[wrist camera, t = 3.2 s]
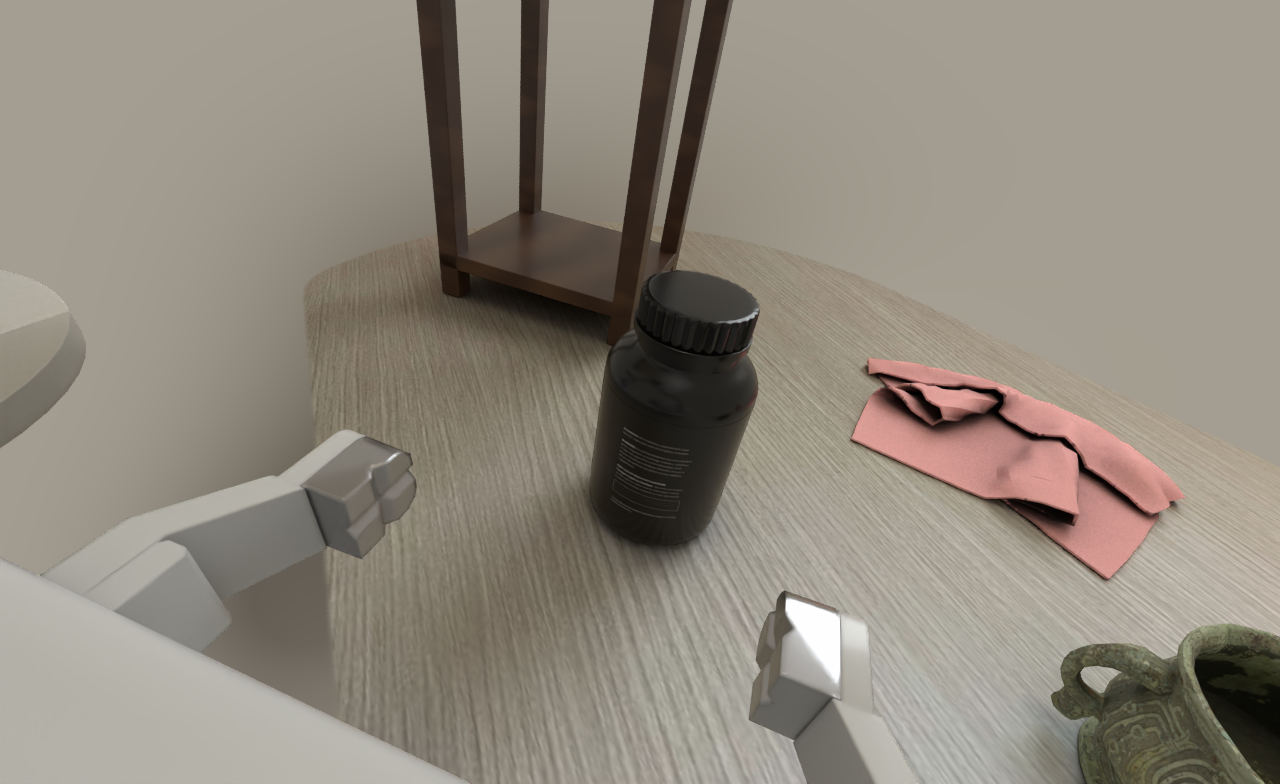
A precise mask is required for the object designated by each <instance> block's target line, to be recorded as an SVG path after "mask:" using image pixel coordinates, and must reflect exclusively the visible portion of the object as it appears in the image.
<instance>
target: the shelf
mask: <svg viewBox="0 0 1280 784" xmlns="http://www.w3.org/2000/svg"><path fill="white" fill-rule="evenodd" d="M691 1H692V0H654V6H653V14H652V21H651V28H650V35H649V42H648V49H647V57H646V64H645V72H644V79H643V86H642V93H641V100H640V108H639V115H638V122H637V129H636V137H635V144H634V151H633V159H632V166H631V173H630V180H629V188H628V195H627V202H626V209H625V217H624V224H623V231H622V232H618V231H615V230H611V229H607V228H604V227H600V226H596V225H593V224H589V223H585V222H582V221H578V220H574V219H570V218H567V217H563V216H559V215H556V214H552V213H548V212H545V211H541V198H542V172H543V144H544V117H545V90H546V62H547V36H548V8H549V0H521V81H520V83H521V86H520V176H519V179H520V180H519V181H520V183H519V211H517V212H515V213H513V214H511V215H509V216H507V217H505V218H503V219H501V220H499V221H497V222H495V223H493V224H491V225H489V226H487V227H485V228H483V229H481V230H479V231H477V232H475V233H473V234H471V235H469V236H468V234H467V215H466V197H465V177H464V158H463V139H462V120H461V101H460V82H459V63H458V44H457V25H456V7H455V0H417V11H418V23H419V34H420V45H421V56H422V67H423V78H424V90H425V100H426V112H427V123H428V134H429V145H430V157H431V167H432V179H433V190H434V201H435V212H436V223H437V235H438V246H439V258H440V268H441V279H442V290H443V293H446V294H449V295H453V296H456V297H461V296H463V295H464V294H466V293H467V292H469V291H470V274H472V275H476V276H479V277H482V278H486V279H489V280H492V281H495V282H499V283H502V284H505V285H509V286H512V287H515V288H519V289H522V290H525V291H528V292H532V293H535V294H538V295H542V296H545V297H548V298H551V299H555V300H558V301H561V302H565V303H568V304H571V305H575V306H578V307H581V308H584V309H588V310H591V311H594V312H598V313H601V314H604V315H608V316H611V318H610V326H609V333H608V340H607V344H609V345H612V346H613V345H614V344H615V342H616V341H617V340H618V339H619V338H620V337H621V336H622V335H624V334H625V333H626V332H628V331H630V330H631V329H633V328H634V316H635V312H636V310H637V309H638V305H639V300H640V294H641V289H642V286H643V283H644V281H645V280H647V278H648V277H650V276H652V275H653V274H657V273H659V272H666V271H676V266H677V261H678V257H679V252H680V247H681V243H682V238H683V233H684V229H685V223H686V219H687V214H688V210H689V205H690V200H691V195H692V191H693V186H694V181H695V177H696V172H697V167H698V163H699V158H700V153H701V149H702V144H703V139H704V134H705V130H706V125H707V120H708V115H709V110H710V106H711V101H712V97H713V92H714V88H715V83H716V78H717V73H718V69H719V64H720V59H721V55H722V50H723V45H724V41H725V36H726V31H727V26H728V22H729V17H730V12H731V8H732V3H733V0H706V6H705V11H704V17H703V22H702V28H701V32H700V38H699V43H698V48H697V54H696V59H695V64H694V70H693V76H692V80H691V86H690V91H689V96H688V102H687V107H686V112H685V118H684V123H683V129H682V134H681V139H680V145H679V150H678V155H677V160H676V166H675V171H674V176H673V182H672V187H671V192H670V198H669V203H668V208H667V214H666V219H665V224H664V230H663V235H662V240H661V243H659V242H655V241H651V240H650V238H651V232H652V226H653V220H654V214H655V208H656V203H657V197H658V191H659V185H660V180H661V174H662V167H663V162H664V157H665V151H666V145H667V139H668V133H669V128H670V122H671V116H672V111H673V105H674V99H675V93H676V87H677V81H678V76H679V70H680V64H681V59H682V53H683V47H684V41H685V35H686V30H687V24H688V18H689V12H690V6H691Z"/></svg>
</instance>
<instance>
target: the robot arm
mask: <svg viewBox="0 0 1280 784" xmlns="http://www.w3.org/2000/svg"><path fill="white" fill-rule="evenodd" d="M412 465H413V463H412V458H411V454H410V453H408V452H405V451H403V450H400V449H397V448H395V447H392V446H390V445H387V444H385V443H382V442H380V441H377V440H374V439H372V438H369V437H367V436H365V435H362V434H359V433H356V432H354V431H351V430H348V429H345V430H342V431H338V432H336V433H335V434H334V435H332V436H331V437H330V438H328V439H327V440H326V441H324V442H323V443H322V444H320V445H319V446H318V447H316V448H315V449H314V450H313V451H311V452H310V453H309V454H307V455H306V456H305V457H303V458H302V459H301V460H299V461H298V462H297V463H295V464H294V465H293V466H292V467H290V468H289V469H287V470H286V471H285V472H283V473H282V474H281V475H279V476H278V477H276V476H273V475H270V476H267V477H264V478H260V479H256V480H253V481H250V482H246V483H243V484H240V485H236V486H233V487H230V488H226V489H223V490H220V491H216V492H213V493H210V494H207V495H203V496H200V497H197V498H193V499H190V500H187V501H183V502H180V503H176V504H173V505H170V506H167V507H163V508H160V509H156V510H154V511H150V512H146V513H143V514H140V515H137V516H133V517H130V518H127V519H125V520H123V521H122V522H121V523H119V524H117V525H116V526H114V527H113V528H111V529H110V530H108V531H107V532H105V533H104V534H102V535H101V536H99V537H98V538H96V539H94V540H93V541H92V542H90V543H89V544H87V545H85V546H84V547H82V548H81V549H79V550H78V551H76V552H75V553H73V554H72V555H70V556H69V557H67V558H65V559H64V560H62V561H61V562H59V563H58V564H57V565H55V566H53V567H52V568H51V569H49V570H47V571H46V572H44V573H43V574H41V575H40V576H39V575H37V574H35V573H32V572H30V571H28V570H26V569H24V568H22V567H20V566H18V565H16V564H14V563H12V562H10V561H8V560H5V559H3V558H1V557H0V784H471V783H469V782H467V781H465V780H463V779H461V778H459V777H457V776H455V775H453V774H451V773H449V772H447V771H444V770H442V769H440V768H438V767H436V766H434V765H432V764H430V763H428V762H426V761H424V760H422V759H419V758H417V757H415V756H413V755H411V754H409V753H407V752H405V751H403V750H401V749H399V748H397V747H395V746H392V745H390V744H388V743H386V742H384V741H382V740H380V739H378V738H376V737H374V736H372V735H370V734H367V733H365V732H363V731H361V730H359V729H357V728H355V727H353V726H351V725H349V724H347V723H345V722H343V721H340V720H338V719H336V718H334V717H332V716H330V715H328V714H325V713H324V712H321V711H320V710H318V709H315V708H313V707H311V706H309V705H307V704H305V703H303V702H301V701H299V700H297V699H295V698H293V697H291V696H288V695H286V694H284V693H282V692H280V691H278V690H276V689H273V688H272V687H270V686H268V685H265V684H263V683H261V682H259V681H257V680H255V679H253V678H251V677H249V676H247V675H245V674H243V673H241V672H238V671H236V670H234V669H232V668H230V667H228V666H226V665H224V664H222V663H220V662H218V661H216V660H214V659H211V658H209V657H207V656H205V655H203V654H201V653H202V652H203V651H204V650H205V649H206V648H207V647H208V646H209V645H210V644H211V643H212V642H213V641H214V640H215V639H217V638H218V637H219V636H220V635H221V634H222V633H223V632H224V631H225V630H226V629H227V628H228V627H229V626H230V625H231V619H232V617H231V615H230V614H229V612H228V611H227V609H226V608H225V606H224V605H223V603H222V602H221V600H223V599H225V598H227V597H229V596H231V595H233V594H235V593H237V592H239V591H241V590H244V589H245V588H247V587H250V586H252V585H254V584H256V583H258V582H260V581H262V580H264V579H266V578H268V577H270V576H272V575H274V574H276V573H278V572H279V571H282V570H284V569H286V568H288V567H290V566H292V565H294V564H296V563H298V562H300V561H302V560H304V559H306V558H308V557H310V556H312V555H314V554H316V553H318V552H320V551H322V550H324V549H326V548H327V547H326V546H329V547H331V548H334V549H336V550H339V551H342V552H344V553H347V554H350V555H352V556H355V557H357V558H360V559H363V557H364V556H365V555H366V554H367V553H368V552H369V551H370V550H371V549H372V548H373V547H374V546H375V545H376V544H377V543H378V542H379V540H380V539H381V538H382V537H383V536H384V535H385V528H386V524H388V523H391V522H393V521H396V520H398V519H400V518H401V517H402V516H403V515H404V513H405V512H406V511H407V510H408V509H409V507H410V505H411V503H412V501H413V499H414V497H415V494H416V488H417V486H416V479H415V478H414V476H413V475H412V474H411V472H410V471H409V470H408V469H409V468H410V467H411V466H412ZM756 661H757V663H758V665H759V668H760V670H761V671H760V673H759V674H758V676H757V678H756V679H755V681H754V682H753V687H752V696H751V704H750V713H749V720H750V721H752V722H754V723H757V724H759V725H761V726H763V727H765V728H768V729H770V730H772V731H774V732H777V733H779V734H781V735H783V736H786V737H788V738H790V739H792V740H795V741H794V742H793V744H794V747H795V750H796V752H797V755H798V758H799V761H800V764H801V767H802V769H803V772H804V775H805V778H806V781H807V784H920V783H919V781H918V779H917V777H916V775H915V774H914V772H913V770H912V768H911V767H910V765H909V763H908V761H907V759H906V758H905V756H904V754H903V752H902V751H901V749H900V747H899V745H898V743H897V742H896V740H895V738H894V736H893V735H892V733H891V731H890V729H889V728H888V726H887V724H886V722H885V720H884V719H883V718H881V717H879V716H877V715H875V713H874V699H873V684H872V670H871V655H870V641H869V627H868V625H867V623H866V621H865V620H864V619H861V618H859V617H856V616H853V615H850V614H847V613H844V612H841V611H839V610H836V608H833V607H830V606H827V605H824V604H821V603H819V602H816V601H813V600H810V599H807V598H804V597H802V596H799V595H796V594H793V593H790V592H787V591H783V592H782V593H781V594H780V596H779V597H778V599H777V602H776V611H773V612H770V613H769V614H768V616H767V618H766V620H765V622H764V625H763V628H762V631H761V634H760V638H759V643H758V649H757V656H756Z"/></svg>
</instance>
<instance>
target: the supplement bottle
mask: <svg viewBox="0 0 1280 784" xmlns="http://www.w3.org/2000/svg"><path fill="white" fill-rule="evenodd" d="M759 312H760V309H759V304H758V303H757V302H756V299H755V298H754V297H753V296H752V294H751V293H749V292H747V290H746V289H744V288H742V287H740V286H739V285H737V284H735V283H732V282H730V281H729V280H725V279H722V278H720V277H717V276H713V275H710V274H705V273H701V272H693V271H681V270H676V271H666V272H659V273H657V274H653V275H652V276H650V277H648V278H647V280H645V281H644V283H643V286H642V289H641V294H640V300H639V305H638V309H637V310H636V312H635V316H634V328H633V329H631V330H630V331H628V332H626V333H625V334H624V335H622V336H621V337H620V338H619V339H618V340H617V341H616V342H615V344H614V345H613V346H612V348H611V349H610V351H609V353H608V356H607V360H606V365H605V371H604V378H603V385H602V393H601V400H600V407H599V415H598V422H597V429H596V437H595V444H594V451H593V459H592V466H591V475H590V496H591V500H592V503H593V506H594V508H595V510H596V512H597V513H598V515H599V516H600V517H601V519H602V520H603V521H604V522H605V523H606V524H607V525H608V526H609V527H610V528H611V529H613V530H614V531H615V532H617V533H618V534H620V535H622V536H623V537H625V538H627V539H630V540H632V541H635V542H638V543H642V544H647V545H654V546H667V545H675V544H679V543H682V542H685V541H688V540H690V539H692V538H694V537H695V536H697V535H698V534H699V533H701V532H702V531H703V530H704V529H705V528H706V527H707V525H708V524H709V523H710V521H711V519H712V517H713V515H714V513H715V510H716V507H717V505H718V503H719V500H720V497H721V494H722V492H723V489H724V486H725V484H726V481H727V478H728V475H729V473H730V470H731V467H732V465H733V462H734V459H735V456H736V454H737V451H738V448H739V445H740V443H741V440H742V437H743V435H744V432H745V429H746V426H747V424H748V421H749V418H750V415H751V413H752V410H753V407H754V404H755V401H756V398H757V394H758V379H757V374H756V371H755V368H754V366H753V364H752V362H751V360H750V359H749V357H748V356H747V353H748V352H749V349H750V346H751V343H752V339H753V336H752V334H753V331H754V328H755V325H756V322H757V319H758V316H759Z"/></svg>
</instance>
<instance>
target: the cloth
mask: <svg viewBox="0 0 1280 784" xmlns="http://www.w3.org/2000/svg"><path fill="white" fill-rule="evenodd" d="M867 364H868V365H869V374H874V373H875V374H876V375H877V376H878V377H879V378H880V379H881V380H882V381H883V382H884V383H885V384H886V385H887V386H888V387H884V388H879V389H878V390H877V391H876V392H874V393H873V394H872V395H871V396H870V398H869V400H868V402H867V404H866V406H865V408H864V410H863V412H862V415H861V417H860V419H859V421H858V423H857V425H856V428H855V431H854V434H853V436H852V438H851V440H853V441H855V442H857V443H860V444H862V445H864V446H866V447H868V448H870V449H872V450H875V451H877V452H879V453H881V454H884V455H886V456H888V457H890V458H892V459H895V460H897V461H899V462H901V463H903V464H906V465H908V466H910V467H912V468H914V469H917V470H919V471H921V472H923V473H925V474H928V475H930V476H932V477H935V478H937V479H939V480H941V481H944V482H946V483H948V484H950V485H953V486H955V487H957V488H959V489H962V490H964V491H966V492H969V493H971V494H974V495H976V496H979V497H981V498H984V499H1001V500H1003V501H1004V502H1005V503H1006V504H1008V505H1009V506H1010V507H1011V508H1013V509H1014V510H1016V511H1017V512H1018V513H1020V514H1021V515H1023V516H1024V517H1026V518H1027V519H1029V520H1030V521H1031V522H1033V523H1034V524H1035V525H1037V526H1038V527H1039V528H1040V529H1041V530H1042V531H1043V532H1044V533H1046V534H1047V535H1048V536H1049V537H1050V538H1052V539H1053V540H1054V541H1056V542H1057V543H1058V544H1060V545H1061V546H1062V547H1064V548H1065V549H1066V550H1067V551H1069V552H1070V553H1071V554H1073V555H1074V556H1075V557H1077V558H1078V559H1079V560H1081V561H1082V562H1083V563H1085V564H1086V565H1087V566H1089V567H1090V568H1092V569H1093V570H1094V571H1096V572H1097V573H1098V574H1100V575H1101V576H1102V577H1104V578H1105V579H1106V580H1108V579H1109V578H1110V577H1111V576H1112V575H1113V574H1114V573H1115V572H1116V571H1117V570H1118V569H1119V568H1120V567H1121V566H1122V565H1123V564H1124V563H1125V562H1126V560H1127V559H1128V558H1129V557H1130V556H1131V555H1132V553H1133V552H1134V551H1135V549H1136V548H1137V547H1138V546H1139V545H1140V544H1141V542H1142V541H1143V540H1144V538H1145V536H1146V535H1147V533H1148V531H1149V530H1150V528H1151V527H1152V526H1153V525H1154V523H1155V521H1156V520H1157V518H1158V517H1159V516H1158V514H1157V512H1159V511H1162V510H1164V509H1167V508H1168V507H1169V506H1170V503H1169V502H1170V501H1174V500H1177V499H1182V498H1186V497H1185V496H1184V495H1183V493H1182V492H1181V491H1180V489H1179V488H1178V486H1177V485H1176V484H1175V483H1174V482H1173V481H1172V480H1171V479H1170V478H1169V477H1168V476H1167V475H1166V474H1165V473H1164V472H1163V471H1162V470H1161V469H1160V468H1158V467H1157V466H1156V465H1154V464H1153V463H1152V462H1150V461H1149V460H1148V459H1147V458H1145V457H1144V456H1143V455H1141V454H1140V453H1139V452H1138V451H1136V450H1135V449H1134V448H1132V447H1131V446H1130V445H1129V444H1127V443H1125V442H1121V441H1120V440H1119V439H1118V438H1117V437H1115V436H1114V435H1112V434H1111V433H1109V432H1108V431H1106V430H1105V429H1103V428H1101V427H1099V426H1098V425H1096V424H1094V423H1092V422H1090V421H1088V420H1086V419H1083V418H1081V417H1079V416H1077V415H1075V414H1072V413H1070V412H1068V411H1065V410H1062V409H1060V408H1059V407H1057V406H1055V405H1053V404H1050V403H1046V402H1042V401H1038V400H1036V399H1034V398H1032V397H1030V396H1027V395H1023V394H1022V393H1021V392H1019V391H1018V390H1015V389H1013V388H1011V387H1009V386H1005V385H1001V384H998V383H996V382H994V381H991V380H987V379H984V378H980V377H977V376H970V375H963V374H959V373H956V372H952V371H949V370H945V369H938V368H930V367H927V366H924V365H920V364H916V363H911V362H899V361H890V360H881V359H873V358H868V361H867ZM905 391H912V392H922V393H923V395H924V396H920V395H912V394H908V393H906V392H905Z"/></svg>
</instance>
